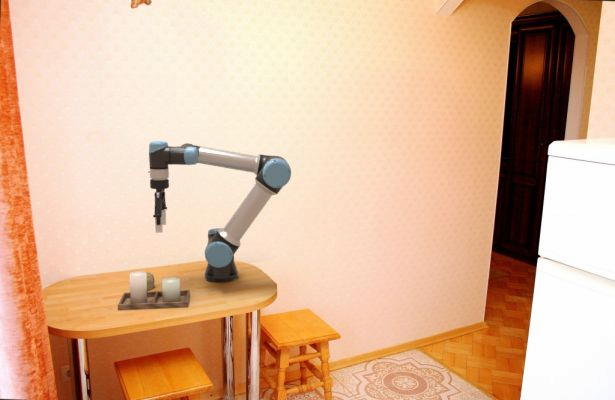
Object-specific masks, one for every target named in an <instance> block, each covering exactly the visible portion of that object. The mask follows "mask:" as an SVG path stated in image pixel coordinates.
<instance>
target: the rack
mask: <svg viewBox="0 0 615 400" xmlns="http://www.w3.org/2000/svg"><path fill="white" fill-rule="evenodd" d="M190 291H191V290H190V289H182V290H181V289H180V297H181V301H180V302H164V303H163V301H162V290H160V291H156V290H155V291H147V303H138V304H130V291H129V292H127V291H126V292H123V294H122V296H121V298H120V300H119V302H118V304H117V311H128V310H152V309H154V310H155V309H156V310H157V309H159V310H160V309H175V308H176V309H179V308H183V309H184V308H188V307H189V303H190V295H191V292H190Z"/></svg>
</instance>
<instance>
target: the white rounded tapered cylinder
mask: <svg viewBox="0 0 615 400" xmlns="http://www.w3.org/2000/svg"><path fill="white" fill-rule="evenodd" d="M146 272H147V271H143V270H138V271H137V270H136V271H135V270H134V271H132V272H130V273H128V274H129V292H130V304H138V303H147V292H148V291H147V273H146Z"/></svg>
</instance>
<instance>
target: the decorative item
mask: <svg viewBox="0 0 615 400" xmlns="http://www.w3.org/2000/svg"><path fill="white" fill-rule="evenodd" d="M145 272H146V273H147V292H149V291H151V290H153V289H154V286H155V275H154V274H153V273H151V272H147V271H145Z"/></svg>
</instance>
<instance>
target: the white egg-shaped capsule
mask: <svg viewBox="0 0 615 400" xmlns="http://www.w3.org/2000/svg"><path fill="white" fill-rule="evenodd" d="M180 290H181V279H180V278H179V277H176V276H170V277H169V276H168V277H164V278H163V279H162V280H161V291H162V301H163V303H164V302H180V301H181V297H180Z"/></svg>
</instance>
